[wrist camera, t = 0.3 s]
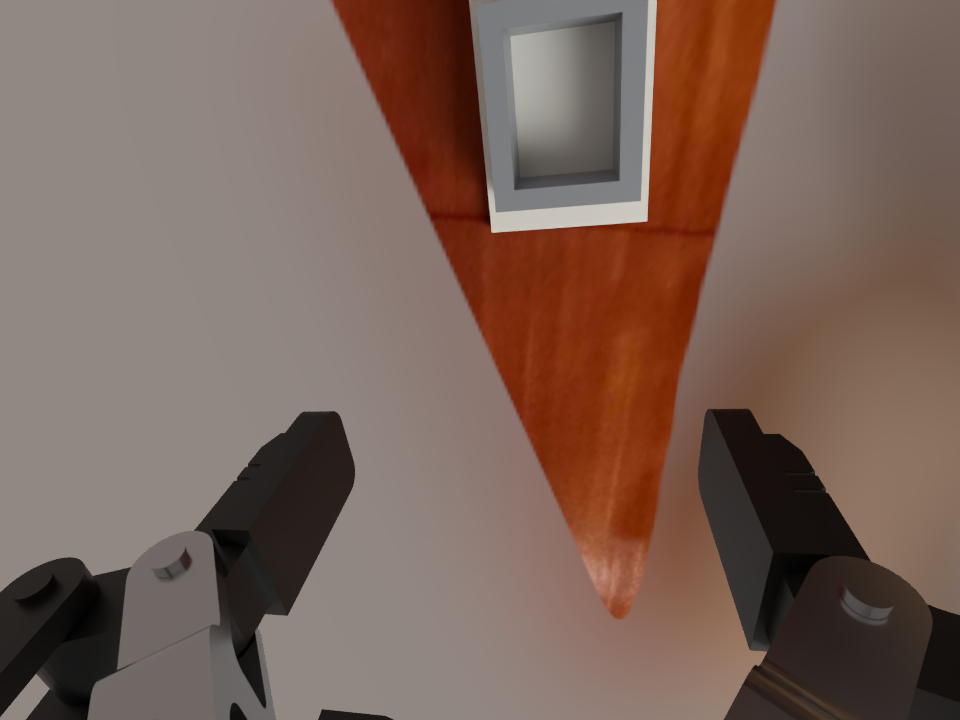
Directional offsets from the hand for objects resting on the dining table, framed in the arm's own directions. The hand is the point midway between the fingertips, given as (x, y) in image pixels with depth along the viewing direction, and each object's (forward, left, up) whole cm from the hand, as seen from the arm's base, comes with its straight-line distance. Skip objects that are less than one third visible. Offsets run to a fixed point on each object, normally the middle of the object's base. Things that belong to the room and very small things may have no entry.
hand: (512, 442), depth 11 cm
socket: (-6, +1, -27) cm, 28 cm away
